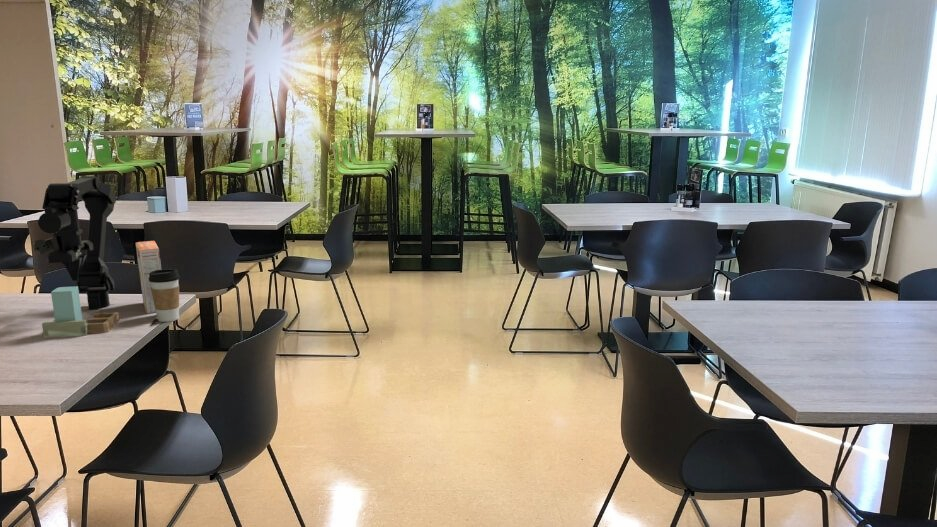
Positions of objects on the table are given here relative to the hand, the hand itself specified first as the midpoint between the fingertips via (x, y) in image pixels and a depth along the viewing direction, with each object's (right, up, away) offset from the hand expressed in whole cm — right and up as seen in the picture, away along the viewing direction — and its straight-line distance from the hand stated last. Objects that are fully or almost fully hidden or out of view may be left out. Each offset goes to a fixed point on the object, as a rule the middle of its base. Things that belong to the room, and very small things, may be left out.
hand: (74, 280), depth 189 cm
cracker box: (+15, -10, +16) cm, 24 cm away
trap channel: (+5, -14, -4) cm, 16 cm away
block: (+4, -14, -8) cm, 17 cm away
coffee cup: (+24, -12, +7) cm, 28 cm away
